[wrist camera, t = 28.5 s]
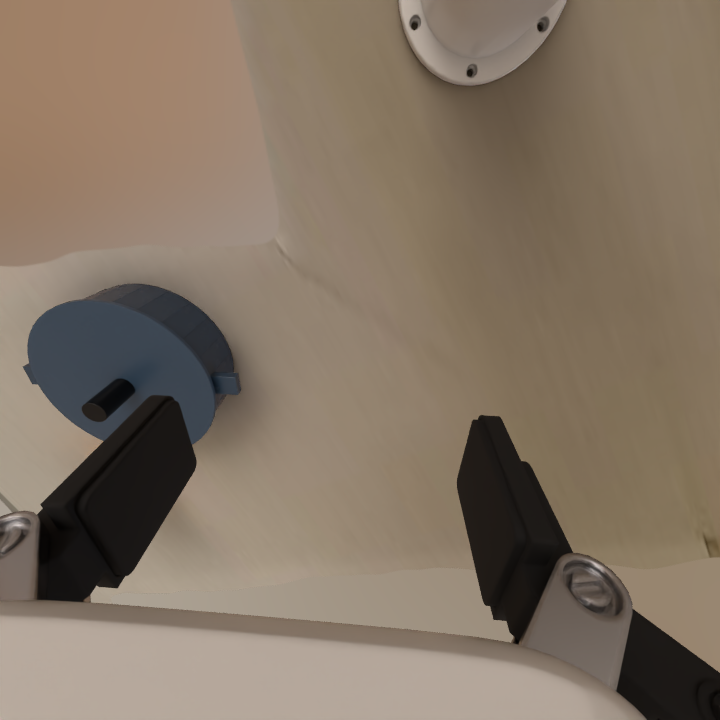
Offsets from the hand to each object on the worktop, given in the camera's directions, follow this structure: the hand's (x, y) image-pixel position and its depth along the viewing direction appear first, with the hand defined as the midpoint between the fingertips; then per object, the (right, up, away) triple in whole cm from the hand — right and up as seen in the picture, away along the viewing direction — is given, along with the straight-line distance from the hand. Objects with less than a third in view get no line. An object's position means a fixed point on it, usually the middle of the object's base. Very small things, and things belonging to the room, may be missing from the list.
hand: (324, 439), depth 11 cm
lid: (-25, 0, +27) cm, 37 cm away
